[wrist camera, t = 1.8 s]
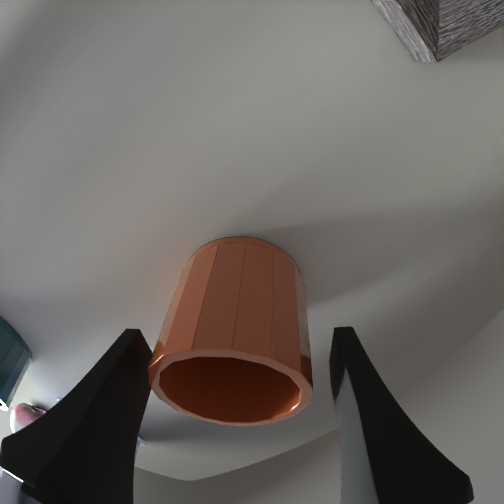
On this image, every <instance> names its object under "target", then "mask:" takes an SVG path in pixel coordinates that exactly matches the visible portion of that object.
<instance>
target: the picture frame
mask: <svg viewBox="0 0 504 504" xmlns="http://www.w3.org/2000/svg"><path fill="white" fill-rule="evenodd" d="M371 1H372V2H373V4H374V5H375V6H376V7H377V8H378V10H379V11H380V12H381V13H382V15H383V16H384V17H385V19H386V20H387V21H388V22H389V24H390V25H391V26H392V28H393V29H394V31H395V32H396V33H397V35H398V36H399V38H400V39H401V40H402V42H403V43H404V45H405V46H406V48H407V49H408V51H409V52H410V54H411V55H412V57H413V58H414V60H415V61H417V62H436V63H437V62H439V61H441V60H442V59H444V58H446V57H447V56H449V55H451V54H452V53H454V52H456V51H457V50H459V49H461V48H463V47H464V46H466V45H468V44H470V43H471V42H473V41H475V40H477V39H478V38H480V37H482V36H484V35H486V34H487V33H489V32H491V31H493V30H495V29H497V28H499V27H500V26H502V25H504V0H371Z"/></svg>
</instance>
